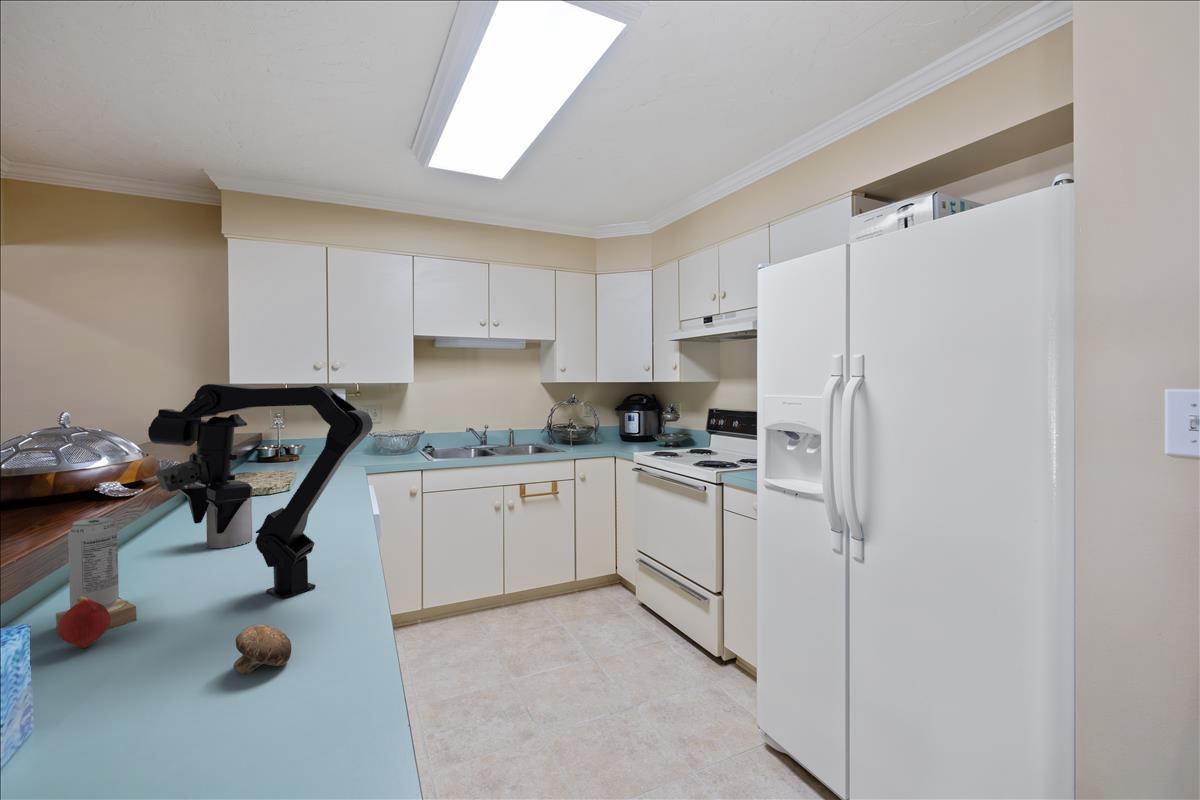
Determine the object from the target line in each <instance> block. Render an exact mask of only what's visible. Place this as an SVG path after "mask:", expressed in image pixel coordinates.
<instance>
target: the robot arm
mask: <svg viewBox="0 0 1200 800" xmlns="http://www.w3.org/2000/svg"><path fill="white" fill-rule="evenodd" d="M293 406H295V407H296V406H311V407H313V408H314V410H316V411H317V413H318V415H320V417H321V418H322V420H324V422H326V424H328V425H329V426H330V427H329V429H328V431H327V433H326V439H325V444H324V447H323V450H322V451H321V452H320V454H319V455H318V457H317V459H316V460H315V462H314V463H313V465H311V468H310V469H309V471H308V473H306V475H305V477H304V478H303V480H302V482H301V483H300V484H299V486H298V487H297V489H296V491H295V492H294V494H293V496H292V497H290V500H289V502H288V503H287V504H286V506H285V507H281V508H278V509H277V510H276V509H275V511H272V512H270V513H267V515H266V517H265V518H264V521H263V523H262V524H261V526H260V528H259V529H257V530H256V531H255V534H257V535H256V538H255V545H256V549H257V550H258V551H259V553H260V554H262V556H263V557H262V558H263V560H264V561H265V564H266V567H268V568H273V586H272V587H270V588H267V589H266V590H265V592H266V593H267V594H269V595H273V596H275V597H278V598H281V599H286V598H289V597H292V596H295V595H299V594H301V593H304V592H307V591H310V590H312V589H315V588H316V584H314V583H311V582H309V573H308V571H309V569H308V567H309V563H308V556H307V555H309V554H311V553H312V552H313V550H314V546H315V541H313V540H312V539H311V538H310V537H309V536H307V535H306V534H305V533H304V532H305V529H306V527H307V524H308V523H307V522H308V518H309V514H310V512H311V511H312V509H313V508H314V506H315V504H316V503H317V502H318V500H319V498H320V496H321V495H322V494H323V492H324V490H325V488H326V487H327V486H328V484H329V483H330V481H331V480H332V478H333V477H334V475H335V474H336V473H337V471H338V469H339V467H340V466H341V465H342V463H343V462H344V459H346V457H347V456H348V455H349V453H351V452H352V451H353V450H354V449H355V448H356V447H357V446H359V445H360V443H361V442H362V441H363V440H364V439H365V438H366V437H367V436H369V434H370V433H371V431H372V429H373V425H374V424H373V421H372V417H371V416H370V414H369V413H367V412H366V411H364V410H361V409H357V408H356V407H355V406H354V405H353V404H351V403H349V401H347V400H346V399H344V398H343V397H341V396H339V395H338V394H337V393H336V392H335V391H334V390H332V388H331V387H329V386H327V385H313V386H305V387H303V386H302V387H301V386H300V387H272V388H271V387H268V388H266V387H265V388H256V387H251V386H245V385H239V384H229V383H207V384H203V385H200V387H199V388H198V389H197V390H196V393H194V398H193V399H192V400H191V401H190V402H189V403H188V404H187V405H186V406H185V407H184V409H182V411H181V410H177V409H176V410H175V409H173V408H172V409H171V408H169V409H168V408H161V409H158V413H157V415H156V416H155V417H154V419H152V421H151V423H150V426H148V430H147V431H148V435H147V436H148V439H149V441H151V443H153V444H154V445H165V446H166V445H167V446H178V447H191V446H193V445H194V444H195V443H196V448H195V449H196V450H195V452H194V451H193V452H191V453H190V454H189V459H188V461H184V462H181V463H178V464H175V465H172V466H169V467H166V468H164V469H160V470H157V471H156V472H155V476H156V478H157V481H158V483H159V487H160V488H161V490H166V491H167V492H169V493H172V492H175V491H179V492H180V493H182V494H184V495H185V496H186V499H187V502H188V505H189V509H190V512H191V513H190V514H191V516H192V517H191V518H192V519H193V523H194V524H196V525H197V524H201V523H202V522H203V519H204V517H206V516H205V515H206V511H207V508H208V506H209V503H210V504H211V505H212V506H213V507H214V515H215V528H216V533H217V534H220V533H223V532H224V531H225V529H226V528H227V526H228V525H229V523H230V522H231V520H232V518H233V517H234V515H235V514H236V512H237V511H238V510H239V508H240V507H241V506H242V504H243V503H244V501H247V500H248V498H251V499H252V496H253V486H252V485H250V484H249V483H247V482H245V481H242V480H238V479H237V480H236V475H235V474H233V473H231V472H232V465H233V464H232V462H233V461H234V460H237V458H238V457H237V456H238V454H237V453H234V452H233V450H234V439H235V438H234V437H235V428H242V427H246V426H248V422H247V421H246V420H244V419H243V418H242V417H241V416H240V414H238V413H235V412H239V411H244V410H249V409H254V408H260V407H293ZM228 413H235V414H231V415H228V417H225V416H218V415H220V414H228ZM209 417H210V418H209ZM202 418H209V419H208V420H207V419H206V420H204V419H203V420H202Z"/></svg>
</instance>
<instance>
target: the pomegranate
mask: <svg viewBox="0 0 1200 800" xmlns="http://www.w3.org/2000/svg"><path fill="white" fill-rule="evenodd" d="M77 600H78V603H77V604H76V605H74V606H73V607H72V608H69V609H67V610H68V611H67V612H66V613H65V614H64V616H63V617H62V618H61V620H60V622H59V625H58V629H57V633H58V636H59V638H60V639H61V640H62V641H63V642H65V643H67V644H70V645H72V646H75V647H77V648H79V649H85V648H88V647H89V646H90V645H92V644H94V643H95V642H96V641H97V640H99V639H100V638H101V637H102V636H103V635H104V634H105V633H106V632H107V631H108V630H109V629H108V627H109V625H110V620H111V618H110V614H109V612H108V611H107V609H106V608H105V607H104V606H103V605H101V604H100V603H98V602H95V601H91V600H89V599H87V598H86V597H79V598H78V599H77Z"/></svg>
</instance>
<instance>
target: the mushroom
mask: <svg viewBox="0 0 1200 800" xmlns="http://www.w3.org/2000/svg"><path fill="white" fill-rule="evenodd" d="M235 637H236V638H235V647H236V649H237V651H238V652H239V654H241V655H242V656H240V657H239V658H238V659H236V660H235V662H234V664H233V668H234V670H235V671H236V672H237V673H239V674H242V675H246V674H249V673H252V672H253V671H255V669H257V668H258V667H260V666H261V665H264V664H265V665H268V666H273V667H274V666H276V667H278V666H283V665H286V664H287V663H288V661H290V658H291V654H292V643H291V640H290V638H289V637H288V636H287V634H286V633H285V632H283V631H282V630H280V629H279V628H276V627H274V626H270V625H267V624H254V625H251V626H249V627H246V628H245V629H243V630H242V631H241V632H240V633H239V634H237V636H235Z"/></svg>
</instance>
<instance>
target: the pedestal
mask: <svg viewBox="0 0 1200 800" xmlns="http://www.w3.org/2000/svg"><path fill="white" fill-rule="evenodd" d="M68 610H69V609H65V610H63V611H58V612H56V613H55V623H56V624H55V627H56V629H57V630H58V625H59V622H60V620H61V618H62V617H63V616H64V614H65V613H66V612H67V611H68ZM107 611H108V612H109V614H110V618H111V620H110V625H109V627H108V629H107V630H110V629H111V628H116V627H118V626H121V625H125V624H128V623H131V622H135V621H137V605H135V604H133V603H132V602H129V601H127V600H125V599H123V598H120V597H119V598H118V600H116V601H115V605H114V606H112V607H110V608H108V609H107Z"/></svg>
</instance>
